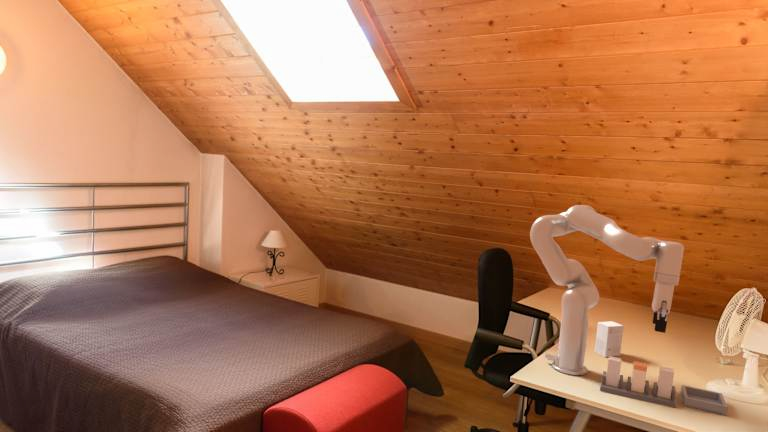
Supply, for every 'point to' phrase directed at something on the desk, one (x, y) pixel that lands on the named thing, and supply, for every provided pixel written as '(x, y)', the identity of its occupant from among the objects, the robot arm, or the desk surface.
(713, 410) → the grey tray
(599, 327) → the small box
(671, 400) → the fuse holder
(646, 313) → the desk surface
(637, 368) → the marked fuse
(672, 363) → the desk surface
